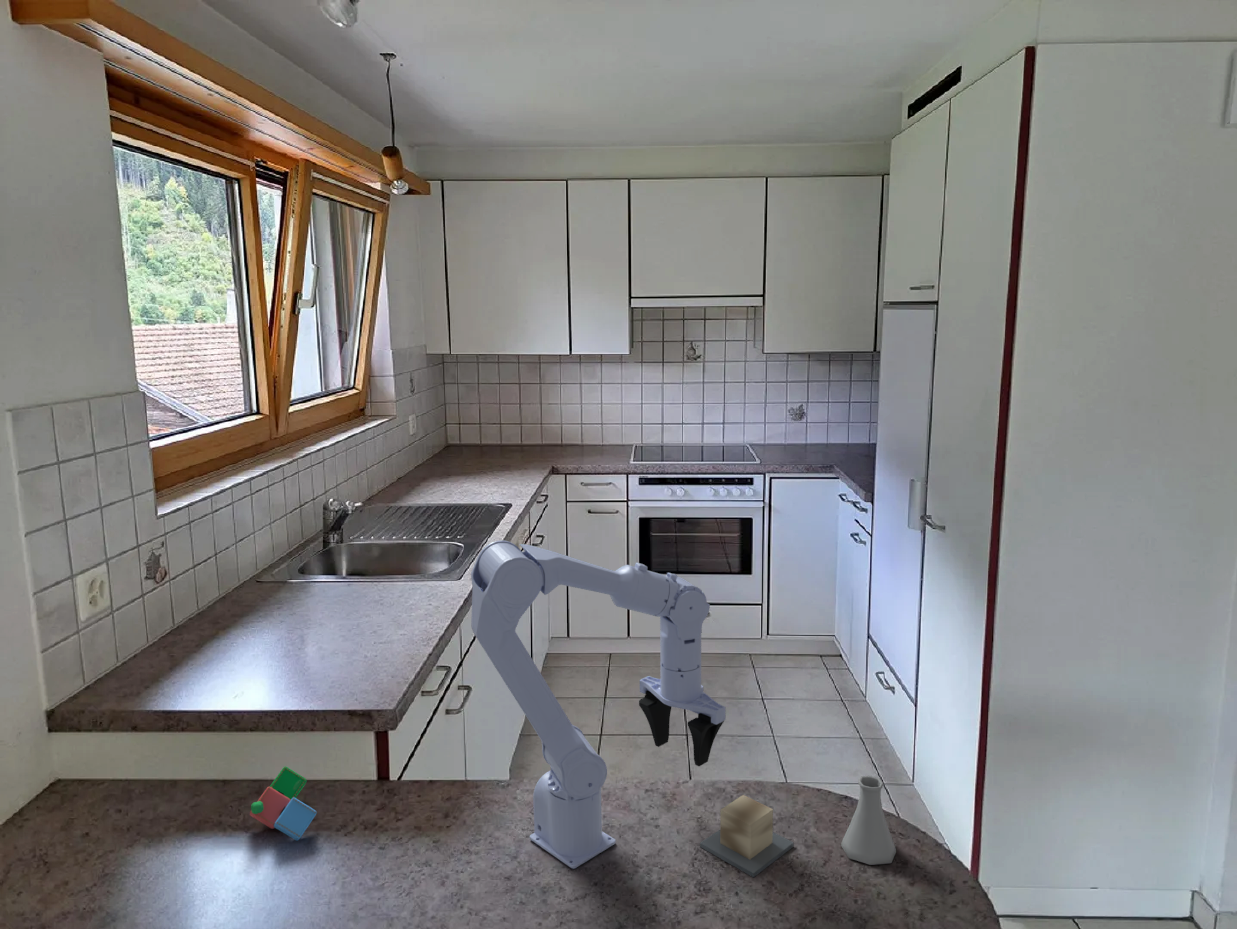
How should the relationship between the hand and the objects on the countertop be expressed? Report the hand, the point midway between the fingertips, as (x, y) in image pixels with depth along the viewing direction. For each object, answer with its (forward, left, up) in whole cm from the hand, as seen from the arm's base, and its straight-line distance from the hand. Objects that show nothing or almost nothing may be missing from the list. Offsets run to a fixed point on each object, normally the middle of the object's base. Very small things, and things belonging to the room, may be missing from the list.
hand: (681, 753), depth 119 cm
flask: (+23, +12, -10) cm, 28 cm away
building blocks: (-39, -40, -10) cm, 57 cm away
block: (+11, +1, -9) cm, 14 cm away
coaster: (+11, +1, -10) cm, 15 cm away
